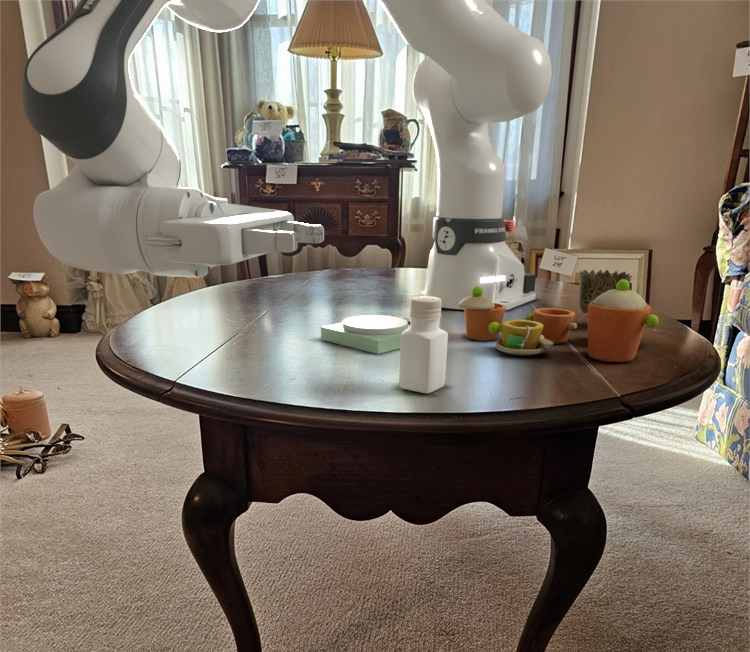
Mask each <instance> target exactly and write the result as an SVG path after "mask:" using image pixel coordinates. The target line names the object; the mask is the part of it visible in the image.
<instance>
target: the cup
mask: <svg viewBox="0 0 750 652" xmlns="http://www.w3.org/2000/svg"><path fill="white" fill-rule="evenodd" d="M589 272H590V273H589ZM632 277H633V275H632V274H631V275H630V273H627V272H626V271H621V272H620V273H618V270H614V272H613V273H612V274H611V273H610V271H609V270H608V269H606V270H605V271H603V270H602V269H599V270H598V271H597V272H596V273H595V270H594V269H592V270H591V271H588V270H587V269H583V270H582V271H581V270H580V271H579V281H578V282H579V284H578V305H579V308H580V311H581V312H582V313H583V315H584V314H585V313H588V304H589V303H590V302H591V301H594V300H595V299H596V298H597V297H598V296H600V295H601V294H603V293H605V292H607V291H609V290H612V289H617V287H616V286H617V283H618V282H619V281H620V280H622V279H624V280H627V281H628V282H629V284H630V283H631V280H632ZM585 325H586V326H587V327H588V325H587V324H586V323H585Z"/></svg>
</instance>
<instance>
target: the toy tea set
mask: <svg viewBox="0 0 750 652" xmlns="http://www.w3.org/2000/svg"><path fill="white" fill-rule="evenodd" d="M616 287H617V289H612V290H609V291H607V292H605V293H603V294H601V295H600V296H598V297H597V298H596V299H595V300H594V301H591V302H590V303H589V304H588V313H585V314H584V313H583V314H582V317H581V322H582V323H584V324H585V325H586V324H587V325H588V326H587V325H586V326H587V355H588V356H589V357H590V358H591V359H594V360H596V361H599V362H600V361H601V362H606V363H628V362H630V361H633V360H634V359H635V357H636V356H637V355H636V354H637V352H638V349H639V346H640V343H641V341H642V337H643V335H644V332H645V329H648V328H655V327H657V326H658V324H659V321H660V318H659V316H658V315H656V314H651V312H652V308H651V305H649V303H647V302H646V301H645V299H644V298H643V296H641V295H640V294H639V293H637V292H636V291H634V290H631V289H629V288H630V283H629V282H628V281H627V280H624V279H622V280H620V281H619V282H618V283H617V286H616ZM472 294H473V296H469V297H466V298H464V299H463V300H462V301H460V302H459V303H458V306H459V307H461V308H464V309H465V310H464V309H463V310H464V320H465V321H464V323H465V335H466V337H467V338H468V339H470V340H474V341H481V342H489V341H495V340H497V339H498V338H499V337H500V334H501V339H500V340H497V341H496V342H495V349H497V350H498V351H500V352H502V353H505V354H507V355H511V356H512V355H513V356H520V357H529V356H537V355H540V354H543V353H545V352H546V351H547V350H548V349H553V348H554V345H559V344H564V343H566V342H567V341H568V340H569V337H570V333H571V331H573V330H576V329H578V324H577V322H574V320H575V317H576V313H575V311H573V310H569V309H564V308H557V307H556V308H555V307H540V308H535V309H533V311H532V313H528V314H527V315H526V316H525V319H507V320H504V317H505V314H506V311H507V310H506V306H505V305H502V304H498V303H493V302H492V301H491V300H490V299H488V298H486V297H484V296H482V294H483V289H482V288H481V287H480V286H476V287H474V288H473V290H472Z"/></svg>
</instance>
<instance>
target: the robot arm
mask: <svg viewBox="0 0 750 652" xmlns="http://www.w3.org/2000/svg"><path fill="white" fill-rule="evenodd" d="M260 1H261V0H80V1H79V2H78V3H77V5H76V6H75V8H74V9H73V11H72V12H71V13H70V14H69V16H67V19H66V20H65V21H64V22H63V24H61V25H60V27H58V28H57V30H55V31H54V32H53V33H52V34H50V36H48V37H47V38H46V39H45V40H44V41H42V42H41V43H40V44H39V45H38V46H37V47H36V49H34V51H33V52H31V55H30V56H29V57H28V59H27V61H26V62H25V65H24V69H23V74H22V78H21V79H22V80H21V100H22V106H23V111H24V114H25V117H26V119H27V120H28V122H29V124H30V125H31V127H32V128H33V130H35V131H36V132H37V133H38V134H40V135H41V136H42V138H45V140H46V141H48V142H49V143H50V144H51V145H53V146H54V147H55V148H56V149H57V150H58V151H60V152H61V153H62V154H64V155H65V156H66V157H67V158H68V159H70V160H71V162H72V163H73V164H74V166H73V168H72V169H71V170H70V172H69V173H68V174H67V176H65V178H63V180H61V182H59V183H58V184H57V185H55V186H54V187H52V188H50V189H47V190H44V191H42V192H40V193H39V194H38V195H37V196H36V198H35V199H34V203H33V209H32V211H33V220H34V225H35V228H36V232H37V234H38V236H39V239H40V241H41V242H42V244H43V246H44V247H45V249H46V250H47V251H48V252H49V254H50V255H52V256H53V257H54V258H55V259H56V260H57V261H59V262H60V263H62V264H63V265H65V266H67V267H70V268H73V269H77V270H83V271H88V272H94V273H103V274H105V273H106V274H117V275H129V274H132V273H136V272H145V273H147V274H150V275H153V276H158V277H173V278H174V277H176V278H194V279H195V278H196V279H200V278H204V277H205V276H207V275H208V274H209V272H210V271H211V269H213V268H215V267H217V266H230V265H235V264H238V263H241V262H244V261H247V260H250V259H254V258H257V257H260V256H264V255H266V254H272V253H290V254H291V253H293V252H295V251H297V250H298V248H299V243H301V244H302V243H305V244H320V243H322V242H324V241H325V228H324V226H323V225H321V224H311V223H310V224H309V223H304V222H298V221H295V217H294V215H293V214H292V213H290V212H288V211H284V210H279V209H273V208H272V209H271V208H265V207H259V206H250V205H245V204H236V203H229V200H228V199H227V198H223V197H216V196H212V195H209V194H208V193H205V192H203V191H201V190H200V189H199V188H196V187H179V183H180V178H181V174H182V162H181V158H180V154H179V152H178V150H177V148H176V146H175V144H174V143H173V141H172V139H171V138H170V137H169V135H168V134H167V132H166V131H165V129H164V128H163V126H162V125H161V124H160V122H159V120H157V118H156V117H155V115H154V114H153V113H152V112H151V111H150V109H149V108H148V106H147V104H146V103H145V102H144V101H143V99H142V98H141V96H140V95H139V93H138V92H137V90H136V89H135V87H134V84H133V80H132V77H131V70H130V62H131V57H132V55H133V53H134V52H135V50H136V49H137V48H138V46H139V45H140V43H141V42H142V40H143V38H144V37H145V36H146V34H147V32H148V31H149V30H150V29H151V27H152V25H153V24H154V22H155V21H156V20H157V18H158V17H159V15H160V13H161V12H162V10H163V9H164V8H165V7H166V8H167V9H169V11H171V12H172V13H173V14H174V15H175V16H177V17H178V18H180V19H181V20H183V21H184V22H185V23H188V24H190V25H192V26H195V27H196V28H199V29H202V30H206V31H209V32H214V33H215V32H216V33H223V32H229V31H232V30H235V29H238V28H240V27H242V26H243V25H244V24H245V23H246V22H247V21H248V20H249V19H250V17H251V16H252V14H253V13H254V11H255V10H256V9H257V6H258V5H259V2H260ZM378 2H379V3H380V5H381V6H382V8H383V9H384V11H385V12H386V14H387V16H388V18H389V19H390V21H391V22H392V23H393V25H394V26H395V28H396V29H397V31H398V33H399V34H400V36H401V37H402V39H403V40H404V42H405V43H406V44H407V45H408V46H409V47H410V48H412V49H413V50H414V51H416V52H418V53H419V54H422V55H424V56H426V57H425V58H424V59H423V60H421V62H420V63H419V65H418V66H417V68H416V70H415V73H414V75H413V80H412V97H413V101H414V104H415V108H416V109H417V110H418V113H419V114H420V115H421V116H422V117H423V118H424V120H425V122H426V124H427V126H428V129H429V132H430V135H431V138H432V142H433V146H434V152H435V157H436V166H437V168H436V169H437V183H436V184H437V185H436V186H437V188H436V192H437V193H436V211H435V212H436V214H435V216H434V217H433V222H432V228H431V229H432V235H431V236H432V237H431V239H432V240H434V242H433V246H432V248H431V249H430V252H429V254H428V261H427V269H426V277H425V282H424V283H425V284H424V289H423V290H421V292H420V296H430V297H437V298H440V299H441V300H442V303H441V309H442V308H444V309H450V310H451V309H452V310H463V311H465V309H464V308H461V307H459V306H458V303H459V302H460V301H462V300H463V299H464V298H466V297H469V296H473V294H472V290H473V288H474V287H476V286H480V287H481V288H482V289H483V294H482V296H484V297H486V298H488V299H490V300H491V301H492V302H493V303H498V304H502V305H505V306H506V310H505V311H508V310H511V309H513V308H517V307H519V306H521V305H524V304H527V303H528V302H531V301H535V300H536V298H537V297H536V295H537V294H536V293H535V288H536V281H537V274H534V273H529V272H525V266H524V264H523V263H522V261H521V260H520V259H519V258H518V257H517V256H516V254H515V253H514V252H513V250H512V249H511V248H510V246H509V245H508V244H507V243H506V240H507V233H509V234H513V233H514V232H515V231H514V230H516V227H517V226H516V221H515V220H514V219H511V220H507V219H504V218H503V206H504V196H505V185H506V175H507V171H506V165H505V163H504V161H503V159H502V158H501V157H500V156H499V155H498V154H497V153H496V152H495V151H494V149H493V146H492V143H491V139H490V135H489V123H490V124H491V123H507V122H510V121H514V120H516V119H520V118H522V117H524V116H527V115H529V114H532V113H535V111H537V110H538V109H540V107H541V106H542V104H543V103H544V102H545V100H546V98H547V96H548V93H549V90H550V87H551V85H552V84H551V83H552V76H553V66H552V61H551V57H550V54H549V51H548V49H547V48H546V45H545V44H544V43H543V41H541V40H540V39H539V38H537V37H534V36H532V35H530V34H527V33H525V32H524V31H521V30H519V29H518V28H517V27H515V26H513V25H512V24H511V23H510V22H509V21H507V20H506V19H505V17H503V16H501V14H500V13H499V12H498V11H497V10H496V9H494V7H492V5H490V4H489V3H488V2H487V0H378Z"/></svg>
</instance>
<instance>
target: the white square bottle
mask: <svg viewBox="0 0 750 652" xmlns="http://www.w3.org/2000/svg"><path fill="white" fill-rule="evenodd" d="M441 303H442V300H441V299H440V298H437V297H430V296H421V295H418V296H413V297H411V298H410V299H409V306H410V307H409V319H411V324H410V328H408V329H406V330H405V331H403V332H402V333H401V338H400V349H399V375H398V379H399V380H398V385H399V387H400V388H401V389H403V390H407V391H412V392H416V393H421V394H426V395H427V394H431V393H432V392H434V391H436V390H439V389H442V388H443V387H444V386H445V383H446V375H447V356H448V341H449V333H448V332H447V331H446V330H444V329H442V328H440V323H441V322H440V319H441V318H442V307H441Z"/></svg>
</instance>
